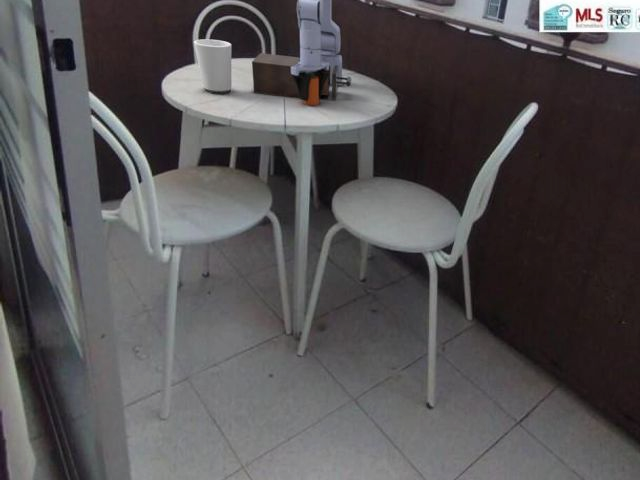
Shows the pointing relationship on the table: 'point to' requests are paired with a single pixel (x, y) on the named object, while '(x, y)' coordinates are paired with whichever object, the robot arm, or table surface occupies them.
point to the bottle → (313, 90)
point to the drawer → (334, 82)
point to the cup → (214, 64)
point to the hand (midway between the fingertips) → (310, 98)
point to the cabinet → (274, 75)
